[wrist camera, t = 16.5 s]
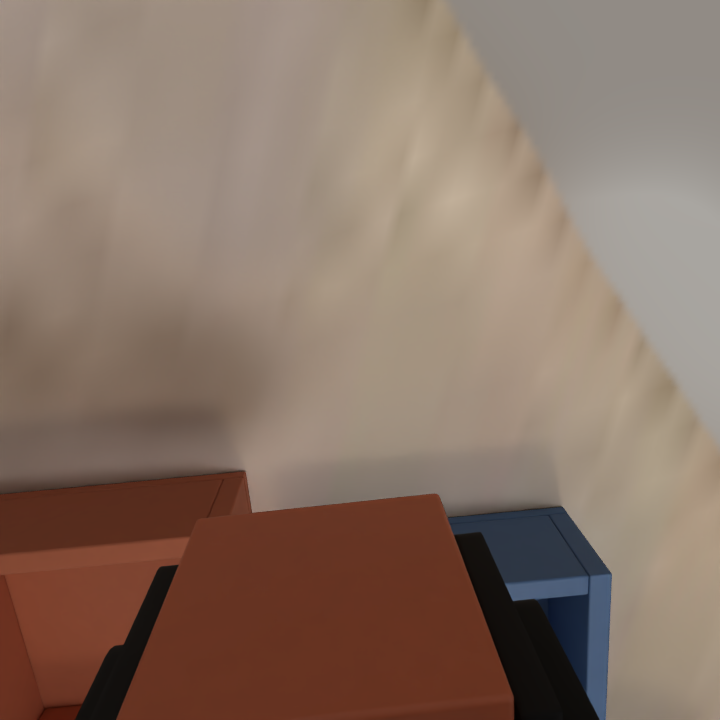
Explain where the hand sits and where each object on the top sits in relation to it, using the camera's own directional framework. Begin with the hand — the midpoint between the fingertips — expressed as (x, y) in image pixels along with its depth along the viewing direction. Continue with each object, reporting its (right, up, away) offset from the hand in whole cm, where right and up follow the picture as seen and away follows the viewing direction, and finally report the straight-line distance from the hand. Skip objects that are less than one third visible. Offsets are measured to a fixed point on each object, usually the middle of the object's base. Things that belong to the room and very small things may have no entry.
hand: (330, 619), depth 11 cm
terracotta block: (0, 0, 0) cm, 0 cm away
